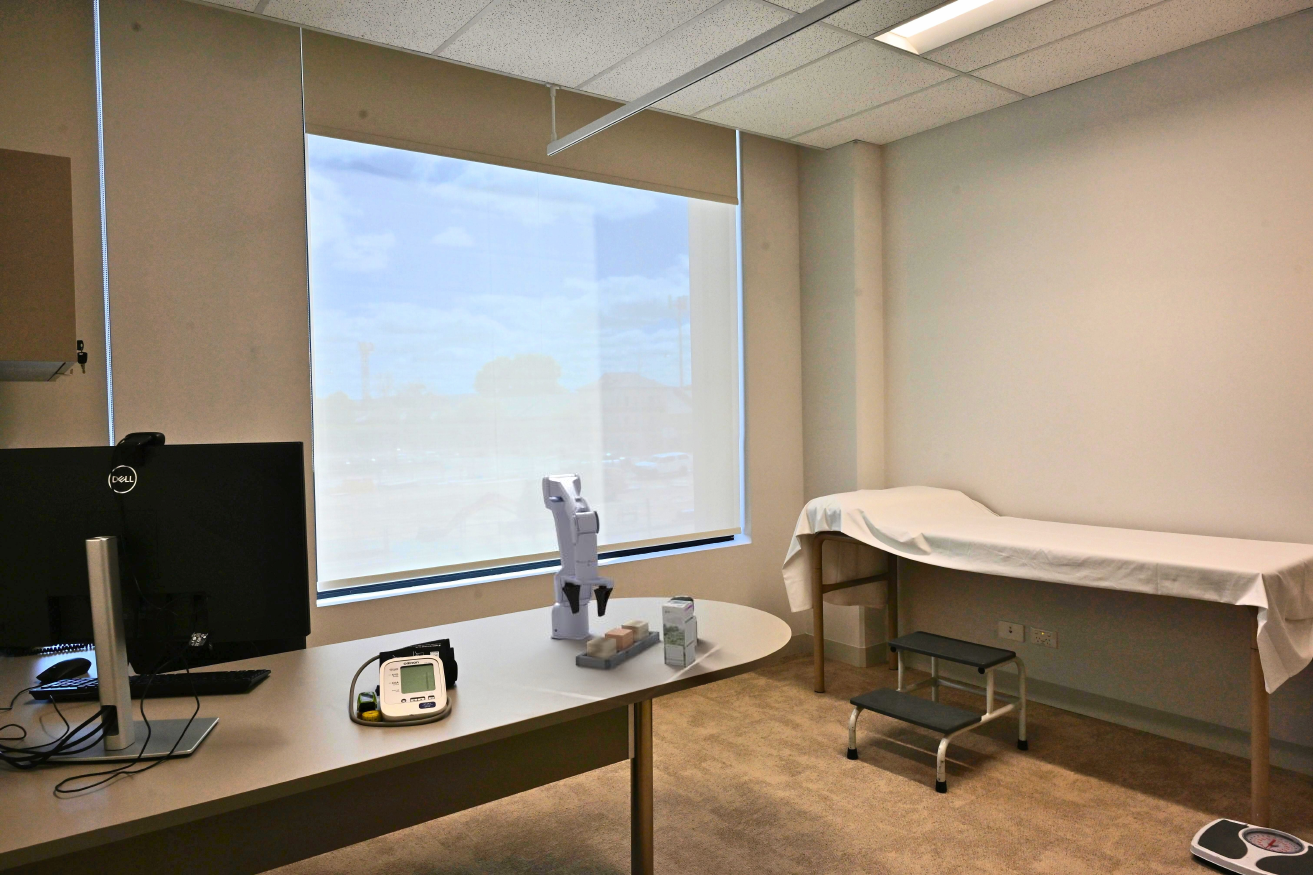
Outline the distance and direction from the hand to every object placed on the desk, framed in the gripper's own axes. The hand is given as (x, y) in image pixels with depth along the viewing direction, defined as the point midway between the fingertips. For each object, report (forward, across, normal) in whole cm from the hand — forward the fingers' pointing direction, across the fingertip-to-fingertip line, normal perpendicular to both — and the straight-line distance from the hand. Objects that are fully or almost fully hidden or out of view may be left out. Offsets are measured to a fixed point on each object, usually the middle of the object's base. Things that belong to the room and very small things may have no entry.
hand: (588, 614), depth 203 cm
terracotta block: (+9, +8, +1) cm, 12 cm away
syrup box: (+10, +25, 0) cm, 27 cm away
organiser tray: (+9, +8, +1) cm, 12 cm away
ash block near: (+9, +8, -7) cm, 14 cm away
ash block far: (+9, +8, +9) cm, 15 cm away
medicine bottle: (+10, +19, +14) cm, 25 cm away
